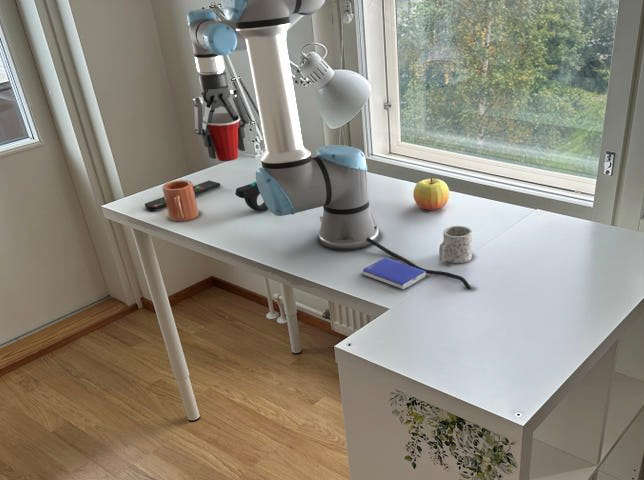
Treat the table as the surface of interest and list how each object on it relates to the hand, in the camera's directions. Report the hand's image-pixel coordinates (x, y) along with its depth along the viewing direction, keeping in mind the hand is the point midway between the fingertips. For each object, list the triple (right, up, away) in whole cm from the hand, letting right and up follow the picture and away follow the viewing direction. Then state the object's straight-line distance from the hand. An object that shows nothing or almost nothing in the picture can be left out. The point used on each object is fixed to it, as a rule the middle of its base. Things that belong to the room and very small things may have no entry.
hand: (227, 153), depth 208 cm
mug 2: (+64, -36, -37) cm, 83 cm away
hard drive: (+50, -41, -43) cm, 78 cm away
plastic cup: (0, -1, +1) cm, 2 cm away
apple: (+60, -18, -8) cm, 63 cm away
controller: (+11, -18, -5) cm, 22 cm away
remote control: (-15, -12, +6) cm, 20 cm away
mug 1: (-10, -20, -8) cm, 24 cm away
